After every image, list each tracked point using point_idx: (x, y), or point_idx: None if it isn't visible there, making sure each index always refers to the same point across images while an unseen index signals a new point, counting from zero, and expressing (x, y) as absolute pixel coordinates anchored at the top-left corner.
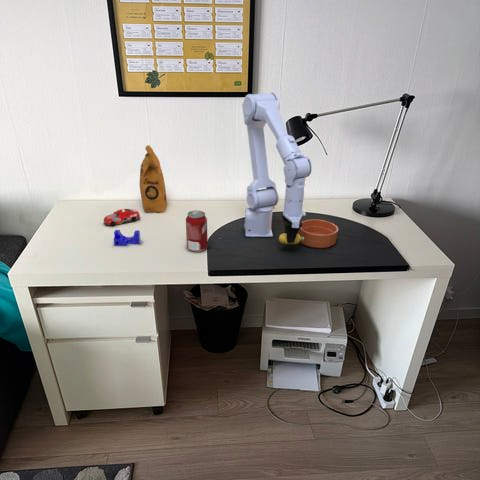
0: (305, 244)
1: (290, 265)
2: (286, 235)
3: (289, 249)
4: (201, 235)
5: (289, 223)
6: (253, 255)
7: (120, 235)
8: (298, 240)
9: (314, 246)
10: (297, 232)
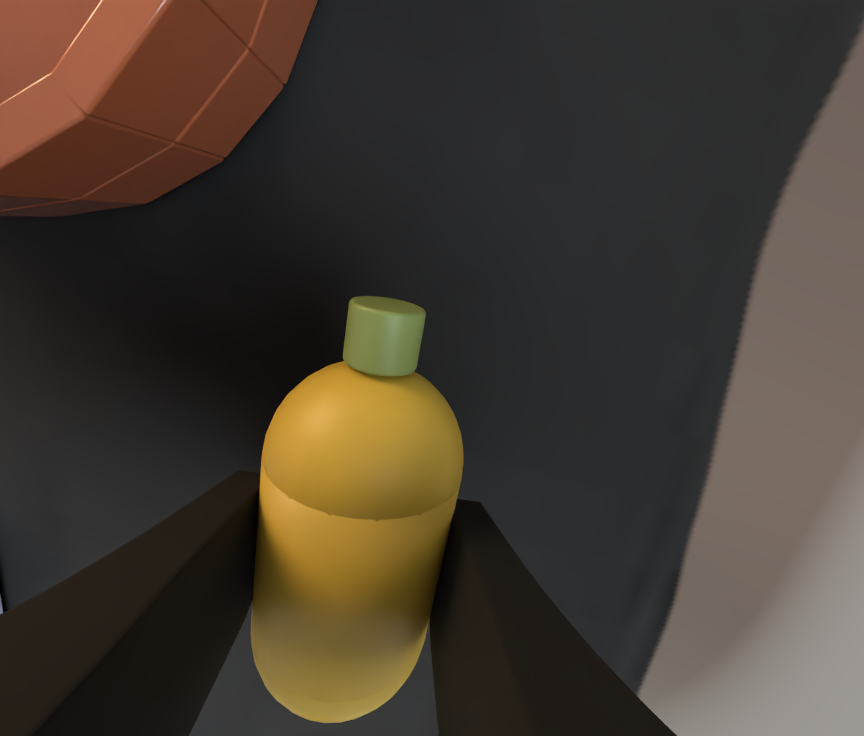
0: (220, 157)
1: (659, 481)
2: (381, 674)
3: None
4: None
5: None
6: (400, 709)
7: None
8: (458, 430)
9: (303, 24)
10: (633, 696)
